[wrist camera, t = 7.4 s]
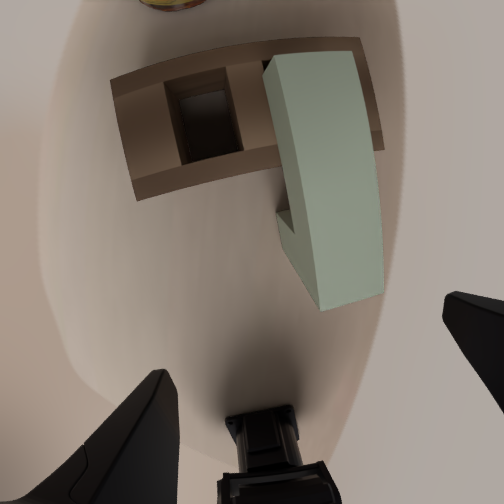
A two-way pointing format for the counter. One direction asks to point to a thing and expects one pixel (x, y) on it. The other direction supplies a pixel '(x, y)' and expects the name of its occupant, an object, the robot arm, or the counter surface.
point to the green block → (327, 176)
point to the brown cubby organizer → (239, 103)
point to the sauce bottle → (171, 4)
